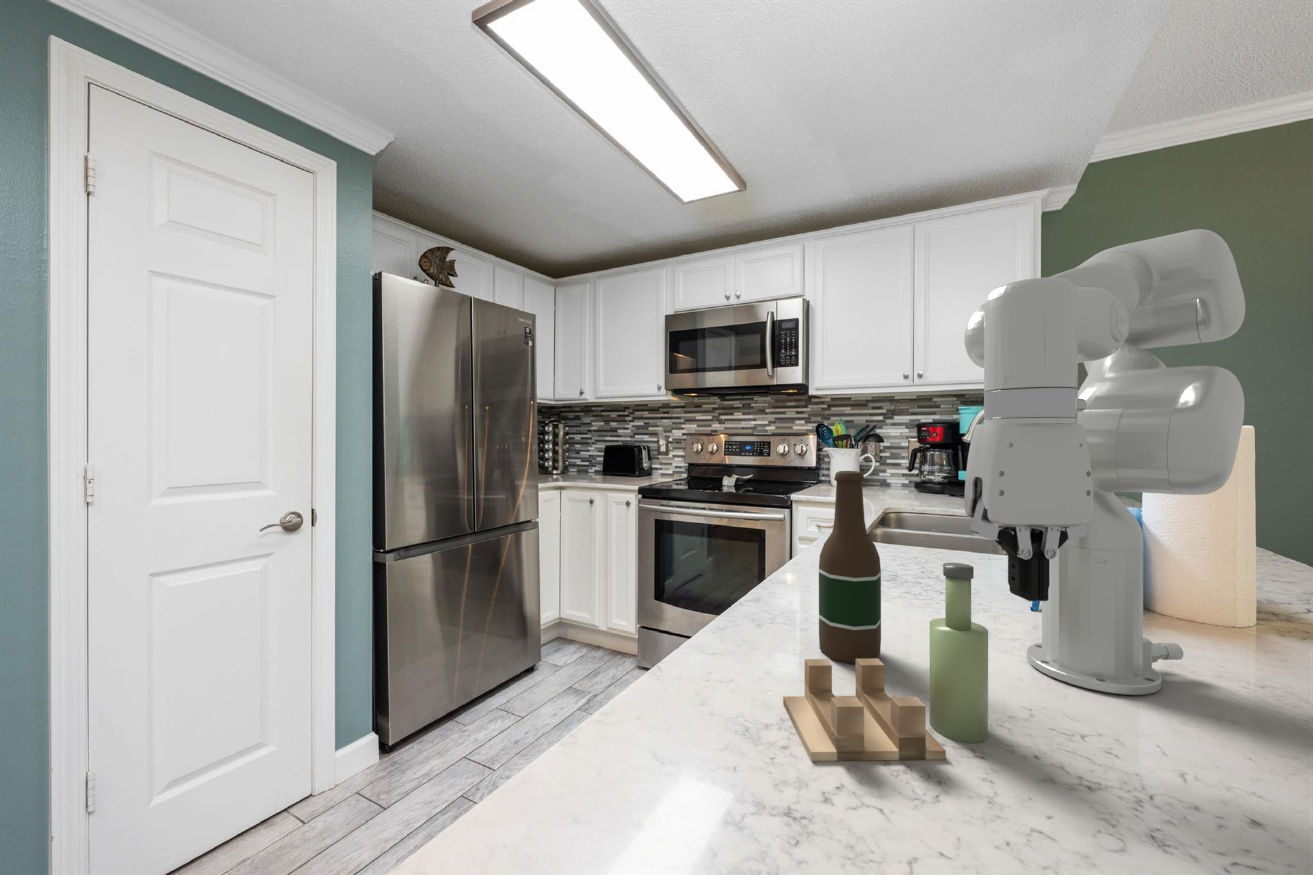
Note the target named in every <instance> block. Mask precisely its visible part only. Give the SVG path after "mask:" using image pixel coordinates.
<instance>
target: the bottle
mask: <svg viewBox="0 0 1313 875" xmlns="http://www.w3.org/2000/svg"><path fill="white" fill-rule="evenodd" d="M942 567H943V568H942V575H943V576H944V577H945V580H944V581H945V585H944V586H945V588H944V590H945V593H944V596H945V609H944V610H945V611H944V613H945V617H941V618H940V617H938V618H934V619H931V620H930V621H929V725H930V727H931V728H932V729H933V730H934V731H935V732H936V733H938V734H939V735H942V736H943V737H945V738H947V739H950V740H953V741H957V742H959V743H960V742H962V743H967V744H978V743H983V742H985V741H986V740H987V739H988V738H989V630H988V628H986V627H985V626H983V625H981V624H978V623H976V622H973V621H972V580H973V579H974V578H975V577H974V576H975V575H974V572H975V571H974V569H975V568H974V566H973V565H970V564H967V563H961V562H945V563H943V564H942Z"/></svg>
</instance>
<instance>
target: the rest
mask: <svg viewBox="0 0 1313 875" xmlns="http://www.w3.org/2000/svg"><path fill="white" fill-rule="evenodd" d="M782 701H783V706H784V708H785V711H786V712H787V715H788V717H789V718H790V721H791V723H792V725H793V727H794V728H795V731H796V733H797V735H798V737H799V739H800V741H801V743H802V745H803V747H804V749H805V751H806V754H807V756H808V757H809V759H810V761H811V762H823V761H824V762H825V761H827V762H832V761H833V762H834V761H835V762H840V761H850V762H851V761H852V762H853V761H920V760H922V761H923V760H924V761H927V760H928V761H932V760H933V761H935V760H936V761H937V760H941V761H942V760H946V759H947V753H946V752H947V750H946V749H945V748H944V747H943V746H942V745H941V743H939V741H937V739H936V738H935V737H934V736H933V735H932V734H931V733H930V731H928V730H927V728H926V726H927V725H926V722H927V721H926V716H927V714H926V711H927V710H926V704H925V703H923V701H922V700H921V699H919V698H918V697H917V696H900V697H899V696H896V695H888V694H887V693H886V692H885V664H884V663H883V662H882V661H881V660H880V659H879V658H877V659H856V665H855V695H834V692H833V665H832V664H831V663H830V661H829V659H828V658H804V696H798V695H797V696H795V695H794V696H782Z"/></svg>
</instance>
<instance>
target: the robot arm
mask: <svg viewBox="0 0 1313 875" xmlns="http://www.w3.org/2000/svg"><path fill="white" fill-rule="evenodd" d="M1237 268H1238V267H1237V264H1236V262H1235V259H1234V255H1233V253H1232V251H1231V249H1230V247H1229V245H1228V244H1227V242H1226V241H1225V240H1224V239H1223V237H1222V236H1220V235H1219V234H1217V233H1216V232H1214V231H1212V230H1209V229H1205V228H1204V229H1203V228H1201V229H1200V228H1199V229H1197V228H1196V229H1190V230H1186V231H1181V232H1176V233H1172V234H1165V235H1163V236H1158V237H1154V238H1148V239H1144V240H1138V241H1135V242H1134V241H1133V242H1129V243H1126V244H1121V245H1117V246H1113V247H1109V248H1107V249H1104V250H1102V251H1099V252H1098V253H1096V254H1094V255H1093V256H1091V257H1090V258H1088V259H1087V260H1085V261H1084V262H1082V263H1081V264H1079V265H1078V266H1076V267H1074V268H1071V269H1069V270H1065V271H1062V272H1059V273H1056V274H1054V275H1051V276H1049V277H1048V276H1047V277H1034V278H1027V279H1021V280H1017V281H1012V282H1009V283H1005V284H1003V285H999V286H998V287H995V288H994V289H993V290H991V291H990V293H988V295H987V296H986V299H985V302H984V303H983V304H981V305H980V306H978V307H977V309H975V310H974V312H973V313H972V314H971V316H970V317H969V320H968V321H967V323H966V324H967V325H966V326H965V331H964V338H963V340H964V346H965V351H966V354H967V355H968V357H969V359H970V360H971V361H972V362H973V363H974V364H975V365H976V366H978V367H979V368H981V369H983V380H984V381H983V423H981V424H975V425H974V430H973V431H972V432H973V433H972V435H971V441H970V445H969V450H968V454H967V455H968V456H967V462H966V472H965V483H964V497H963V498H964V499H963V500H964V501H963V502H964V503H963V504H964V513H965V515H966V516H967V517H968V518H970V519H972V522H971V526H970V532H971V533H972V534H973V535H975V536H978V537H981V538H986V539H989V540H994V541H995V543H997V545H998V546H999V547H1000V548H1001V550H1002V552H1003V553H1004V554H1007V583H1008V586H1009V592H1010V593H1011V594H1012V595H1014V596H1017V597H1020V598H1021V599H1024V600H1026V601H1029V602H1037V601H1040V602H1041V642H1035V643H1034V644H1031V645H1030V646H1029V647H1027V649H1026V660H1027V661H1028V663H1029V664H1030V665H1031V666H1033V668H1035V669H1037V670H1038V671H1040V672H1041V673H1043V674H1045V675H1047V676H1049V677H1052V678H1054V679H1056V680H1059V681H1061V682H1064V683H1067V684H1069V685H1074V686H1077V687H1080V688H1084V689H1088V690H1092V691H1093V690H1094V691H1097V692H1104V693H1109V694H1115V695H1128V696H1129V695H1130V696H1139V695H1140V696H1142V695H1149V694H1154V693H1157V692H1158V691H1160V690H1161V688H1162V676H1161V674H1160V672H1158V671H1157V670H1156V669H1155V668H1153V663H1157V662H1158V661H1159V660H1162V661H1163V660H1164V661H1179V660H1182V659H1183V657H1184V651H1183V648H1182V647H1181V646H1180V645H1179V644H1178V643H1177V642H1156V643H1153V642H1152V641H1151V640H1150V639H1149V638H1148V637H1145V636H1144V533H1143V530H1142V527H1141V524H1140V522H1139V520H1138V519H1137V518H1136V517H1135V515H1134V514H1133V513H1132V511H1130V509H1129V508H1128V507H1126V506H1127V505H1125V504H1124V503H1123V502H1122V501H1121V500H1120V499H1119V498H1118V497H1117V495H1116V494H1115V492H1118V493H1119V492H1120V493H1122V492H1123V493H1126V492H1131V493H1145V494H1146V493H1147V494H1162V495H1163V494H1164V495H1181V496H1186V495H1187V496H1199V495H1201V496H1202V495H1208V494H1212V493H1214V492H1217V491H1219V490H1220V489H1222V488H1223V486H1225V485H1226V484H1227V482H1228V481H1229V479H1230V478H1231V477H1230V476H1231V474H1232V472H1233V470H1234V465H1235V463H1236V462H1235V461H1236V458H1237V451H1238V447H1239V443H1240V437H1241V433H1242V429H1243V423H1244V418H1245V396H1244V391H1243V388H1242V385H1241V382H1240V380H1239V379H1238V378H1237V376H1236V375H1235V374H1234V373H1232V371H1230V370H1228V369H1226V368H1223V367H1219V366H1216V365H1215V366H1214V365H1189V366H1188V365H1187V366H1176V367H1167V366H1166V365H1165V364H1164V362H1163V361H1162V360H1161V359H1159V358H1158V357H1157V356H1155V355H1154V354H1152V353H1151V352H1149V351H1148V350H1147V349H1153V348H1155V349H1156V348H1162V347H1163V348H1164V347H1172V346H1173V347H1174V346H1184V345H1191V344H1192V345H1193V344H1194V345H1195V344H1205V343H1212V342H1218V341H1221V340H1225V339H1228V338H1229V337H1231V336H1233V335H1235V334H1236V333H1237V332H1238V330H1239V329H1240V328H1241V327H1242V325H1243V322H1244V319H1245V315H1246V300H1245V299H1246V298H1245V295H1244V290H1243V287H1242V283H1241V279H1240V277H1239V272H1238V269H1237ZM1080 363H1083V365H1084V368H1085V371H1086V373H1087V376H1086V377H1085V379H1084V381H1083V383H1082V384H1081V386H1080V387H1079V389H1078V386H1079V384H1078V383H1079V382H1078V381H1079V379H1078V378H1079V374H1078V373H1079V364H1080ZM995 525H996V526H998V527H996V526H995Z"/></svg>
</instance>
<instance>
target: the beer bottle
mask: <svg viewBox="0 0 1313 875" xmlns="http://www.w3.org/2000/svg"><path fill="white" fill-rule="evenodd" d="M833 480H834V481H835V482H836V485H835V486H836V488H835V502H834V505H835V506H834V517H833V518H834V519H833V520H834V522H833V525H832V530H831V531H832V532H831V533H830V535H829V536H828V537H827V538H826V540H825V542H824V543H823V545H822V549H821V551H820V554H819V559H818V560H819V561H818V562H819V563H818V640H819V644H818V645H819V649H820V650H819V651H820V652H822V653H823V654H824V655H825V656H827V657H828V658H829V659H830V660H831V661H834V662H840V663H845V664H848V665H853V666H856V659H878V657H879V656H880V654H881V647H882V646H881V644H882V568H881V558H880V554H879V552H878V550H877V547H876V545H875V543H874V541H873V540H872V538H871V537H870V536H869V534H868V532H867V526H866V522H865V507H864V493H863V492H864V491H863V482H864V481H865V476H864V473H863V472H861V471H858V470H857V471H856V470H839V471H837V472H835V474H834V478H833Z"/></svg>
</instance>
